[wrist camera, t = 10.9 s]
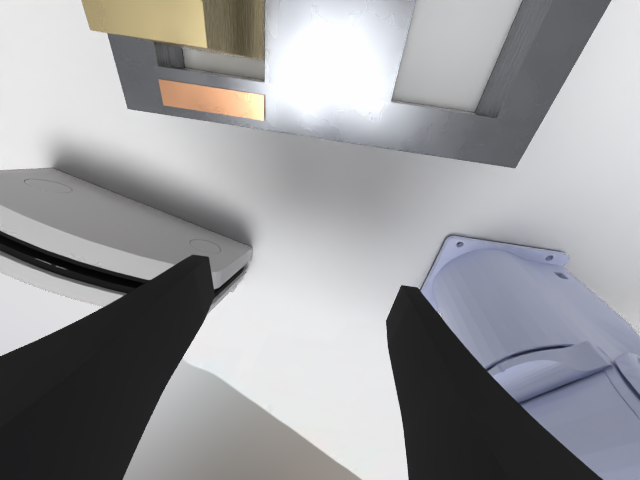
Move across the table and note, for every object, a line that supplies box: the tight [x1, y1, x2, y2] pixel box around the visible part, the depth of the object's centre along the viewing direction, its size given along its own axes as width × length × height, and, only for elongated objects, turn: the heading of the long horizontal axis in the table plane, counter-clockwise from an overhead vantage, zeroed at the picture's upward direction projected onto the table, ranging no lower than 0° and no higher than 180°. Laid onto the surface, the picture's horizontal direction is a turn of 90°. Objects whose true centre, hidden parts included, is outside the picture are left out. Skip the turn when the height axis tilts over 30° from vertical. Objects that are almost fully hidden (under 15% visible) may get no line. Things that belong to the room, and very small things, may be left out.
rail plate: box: [107, 0, 611, 168], centre depth 12 cm, size 22×10×3 cm, turn 83°
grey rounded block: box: [0, 168, 252, 314], centre depth 18 cm, size 17×5×10 cm, turn 66°
